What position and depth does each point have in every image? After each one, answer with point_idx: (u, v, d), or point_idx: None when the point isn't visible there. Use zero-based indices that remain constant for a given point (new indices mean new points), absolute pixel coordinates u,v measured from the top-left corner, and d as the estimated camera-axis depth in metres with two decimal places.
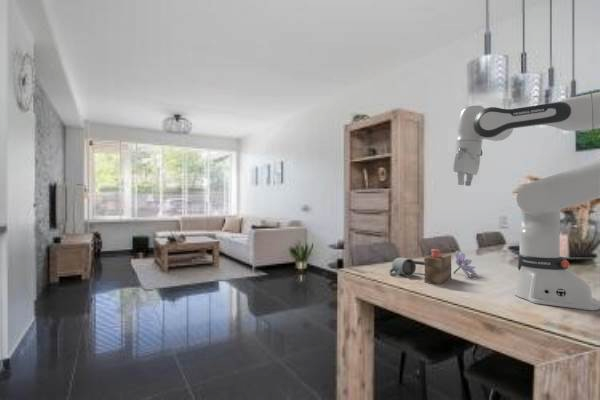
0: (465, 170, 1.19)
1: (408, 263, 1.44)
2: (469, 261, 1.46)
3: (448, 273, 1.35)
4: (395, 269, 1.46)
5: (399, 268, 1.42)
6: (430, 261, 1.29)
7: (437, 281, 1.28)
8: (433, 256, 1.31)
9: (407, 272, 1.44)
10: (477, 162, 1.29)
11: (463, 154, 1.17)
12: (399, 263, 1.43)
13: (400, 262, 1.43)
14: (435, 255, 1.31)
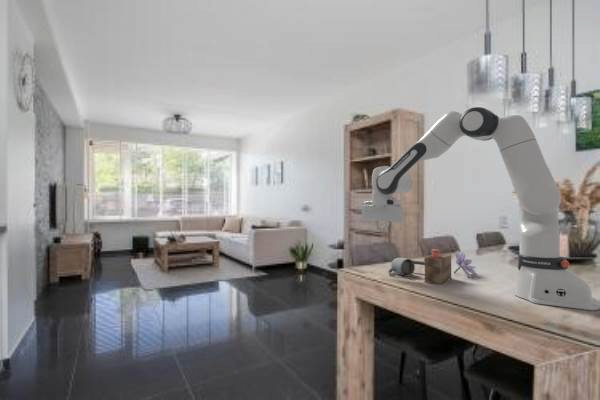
0: (365, 219, 1.55)
1: (407, 263, 1.43)
2: (469, 261, 1.46)
3: (448, 273, 1.35)
4: (394, 269, 1.45)
5: (398, 268, 1.42)
6: (430, 261, 1.29)
7: (437, 281, 1.28)
8: (433, 256, 1.31)
9: (406, 272, 1.43)
10: (395, 210, 1.45)
11: None
12: (398, 263, 1.43)
13: (399, 262, 1.43)
14: (435, 255, 1.31)
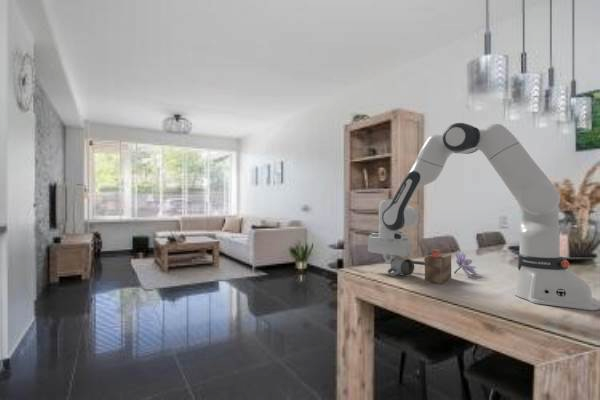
0: (372, 251, 1.52)
1: (407, 263, 1.43)
2: (470, 261, 1.46)
3: (448, 273, 1.35)
4: (393, 269, 1.45)
5: (397, 268, 1.42)
6: (430, 261, 1.29)
7: (437, 281, 1.28)
8: (433, 256, 1.31)
9: (405, 272, 1.43)
10: (402, 245, 1.43)
11: None
12: (397, 263, 1.42)
13: (398, 262, 1.42)
14: (435, 255, 1.31)
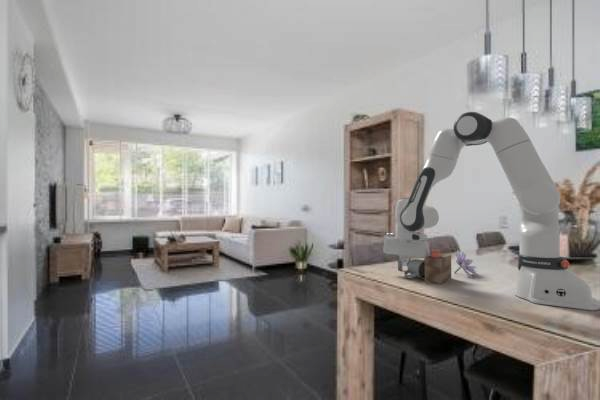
0: (388, 252, 1.47)
1: (424, 265, 1.38)
2: (470, 261, 1.46)
3: (448, 273, 1.35)
4: (410, 271, 1.40)
5: (415, 270, 1.36)
6: (430, 261, 1.29)
7: (437, 281, 1.28)
8: (433, 256, 1.31)
9: (423, 274, 1.38)
10: (421, 246, 1.37)
11: None
12: (415, 265, 1.37)
13: (416, 264, 1.37)
14: (435, 255, 1.31)
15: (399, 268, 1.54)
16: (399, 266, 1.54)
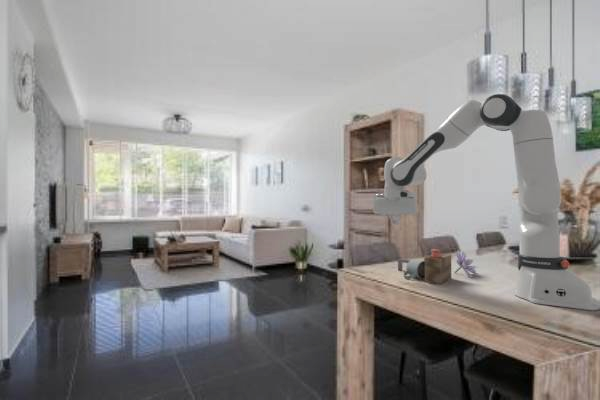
0: (378, 212, 1.50)
1: (423, 266, 1.38)
2: (470, 261, 1.46)
3: (448, 273, 1.35)
4: (409, 272, 1.40)
5: (414, 271, 1.36)
6: (430, 261, 1.29)
7: (437, 281, 1.28)
8: (433, 256, 1.31)
9: (422, 275, 1.38)
10: (409, 203, 1.41)
11: None
12: (414, 266, 1.37)
13: (414, 265, 1.37)
14: (435, 255, 1.31)
15: (399, 268, 1.54)
16: (399, 266, 1.54)
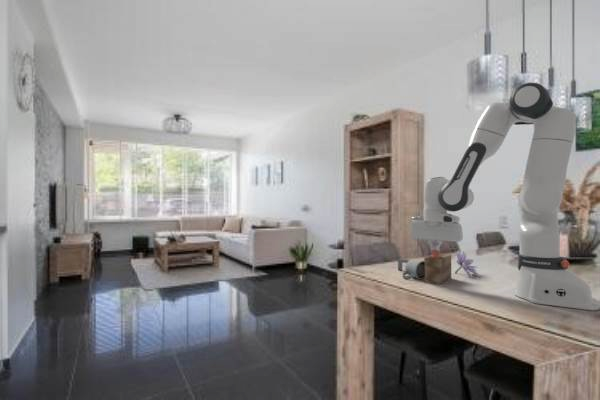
0: (415, 236, 1.36)
1: (422, 266, 1.38)
2: (470, 261, 1.46)
3: (448, 273, 1.35)
4: (408, 272, 1.40)
5: (413, 271, 1.36)
6: (430, 261, 1.29)
7: (437, 281, 1.28)
8: (433, 257, 1.31)
9: (421, 275, 1.37)
10: (453, 229, 1.26)
11: None
12: (413, 266, 1.37)
13: (413, 265, 1.37)
14: (435, 257, 1.31)
15: (399, 268, 1.54)
16: (399, 266, 1.54)
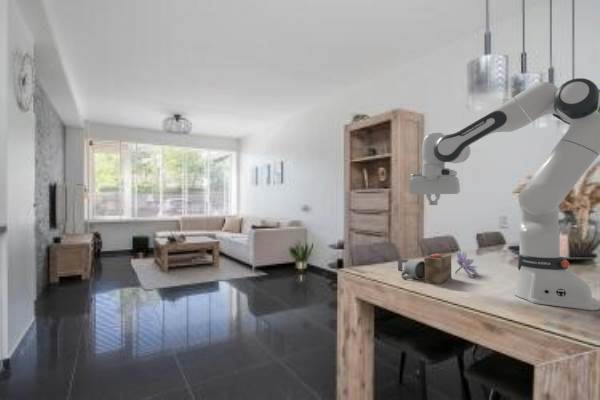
0: (414, 192, 1.40)
1: (421, 266, 1.37)
2: (471, 261, 1.46)
3: (448, 273, 1.35)
4: (407, 272, 1.39)
5: (412, 271, 1.36)
6: (430, 261, 1.29)
7: (437, 281, 1.28)
8: None
9: (420, 275, 1.37)
10: (450, 181, 1.31)
11: None
12: (412, 266, 1.37)
13: (412, 265, 1.37)
14: None
15: (399, 268, 1.54)
16: (399, 266, 1.54)
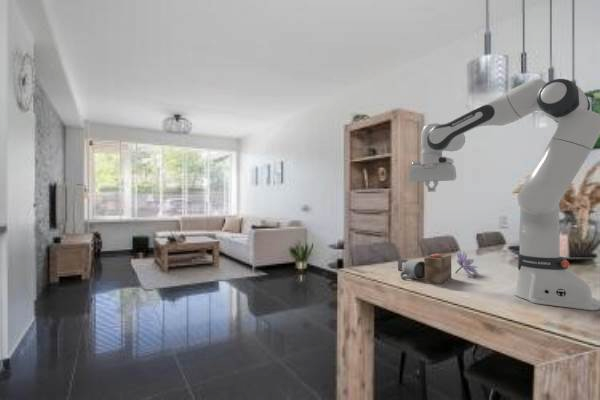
0: (413, 180, 1.49)
1: (420, 266, 1.37)
2: (471, 261, 1.46)
3: (448, 273, 1.35)
4: (406, 272, 1.39)
5: (411, 271, 1.36)
6: (430, 261, 1.29)
7: (437, 281, 1.28)
8: None
9: (419, 275, 1.37)
10: (447, 168, 1.39)
11: None
12: (411, 266, 1.37)
13: (411, 265, 1.37)
14: None
15: (399, 268, 1.54)
16: (399, 266, 1.54)
